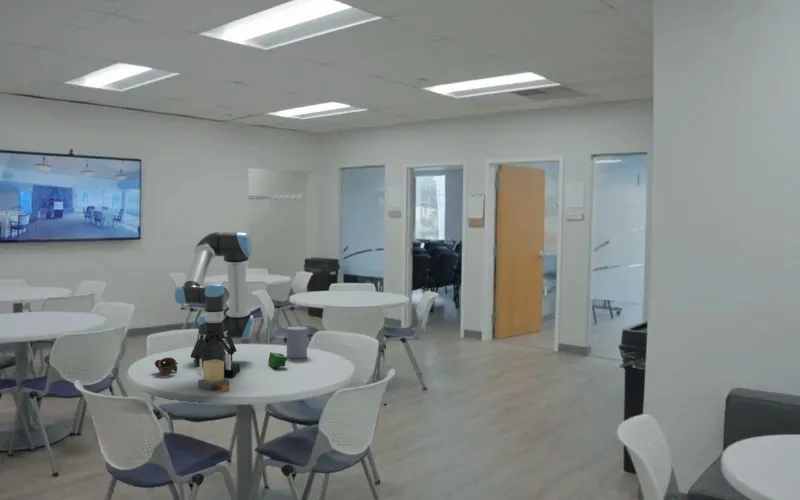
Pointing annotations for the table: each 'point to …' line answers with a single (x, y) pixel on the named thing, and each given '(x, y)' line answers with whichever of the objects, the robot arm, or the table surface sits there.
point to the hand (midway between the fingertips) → (213, 372)
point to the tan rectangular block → (213, 370)
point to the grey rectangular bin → (214, 385)
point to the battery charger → (231, 371)
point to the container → (296, 342)
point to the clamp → (277, 360)
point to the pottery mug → (166, 365)
